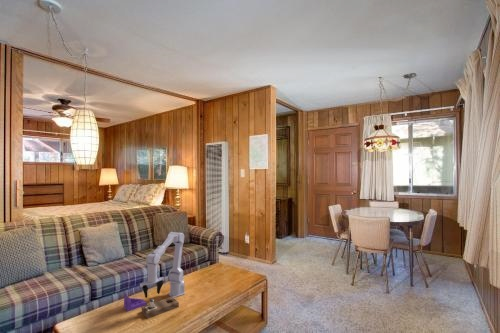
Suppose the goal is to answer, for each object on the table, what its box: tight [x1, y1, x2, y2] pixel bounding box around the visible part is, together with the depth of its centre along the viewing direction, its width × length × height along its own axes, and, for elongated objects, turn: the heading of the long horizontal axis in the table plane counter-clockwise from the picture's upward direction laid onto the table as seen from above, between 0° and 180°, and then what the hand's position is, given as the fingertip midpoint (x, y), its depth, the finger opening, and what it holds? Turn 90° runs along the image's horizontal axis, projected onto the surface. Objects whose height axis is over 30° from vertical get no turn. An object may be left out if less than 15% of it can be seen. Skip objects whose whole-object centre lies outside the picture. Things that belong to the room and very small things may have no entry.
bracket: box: [123, 295, 148, 312], centre depth 169 cm, size 12×7×7 cm, turn 134°
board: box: [141, 296, 180, 320], centre depth 165 cm, size 20×10×3 cm, turn 132°
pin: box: [148, 298, 155, 309], centre depth 161 cm, size 3×3×8 cm
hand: (152, 295), depth 162 cm, fingers open, 7 cm apart
